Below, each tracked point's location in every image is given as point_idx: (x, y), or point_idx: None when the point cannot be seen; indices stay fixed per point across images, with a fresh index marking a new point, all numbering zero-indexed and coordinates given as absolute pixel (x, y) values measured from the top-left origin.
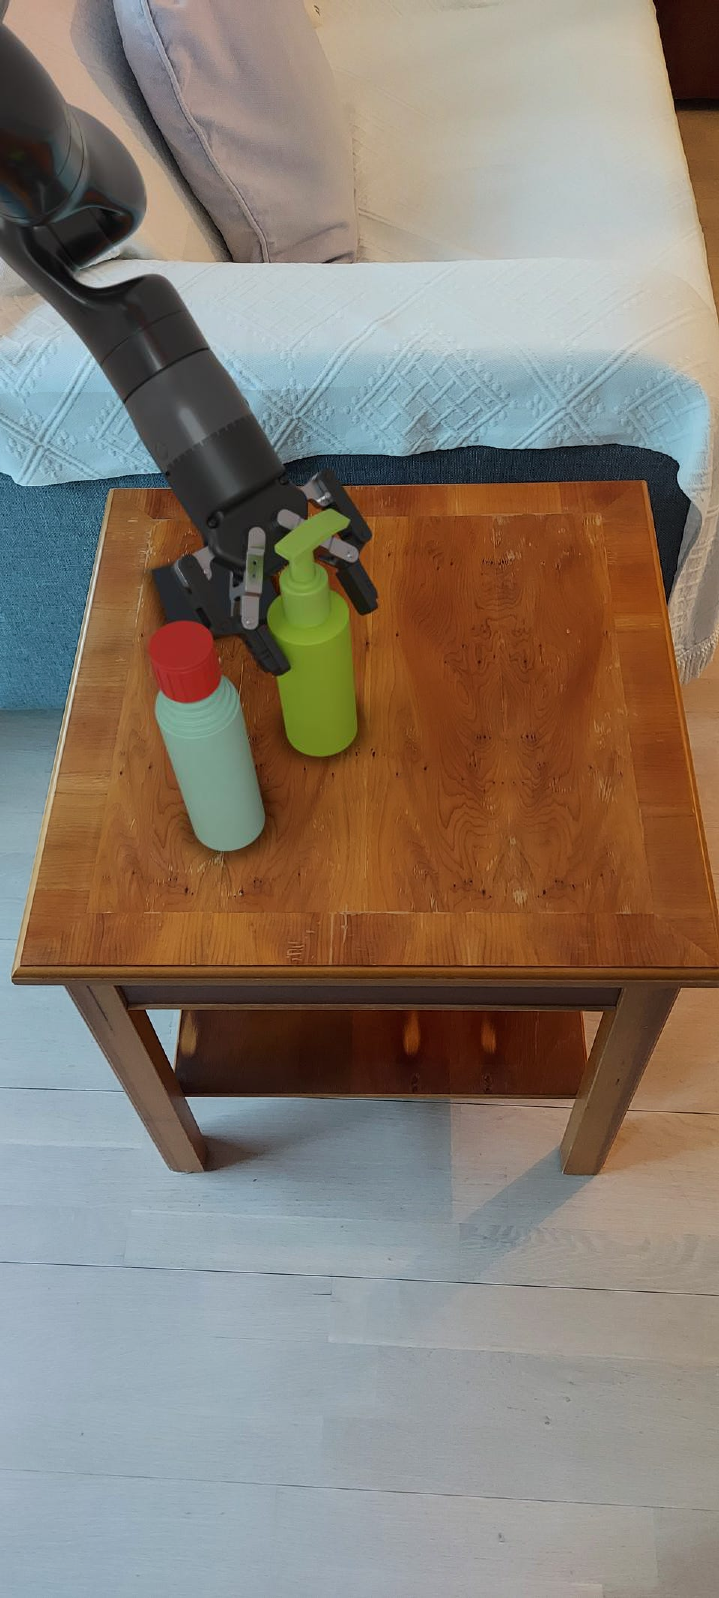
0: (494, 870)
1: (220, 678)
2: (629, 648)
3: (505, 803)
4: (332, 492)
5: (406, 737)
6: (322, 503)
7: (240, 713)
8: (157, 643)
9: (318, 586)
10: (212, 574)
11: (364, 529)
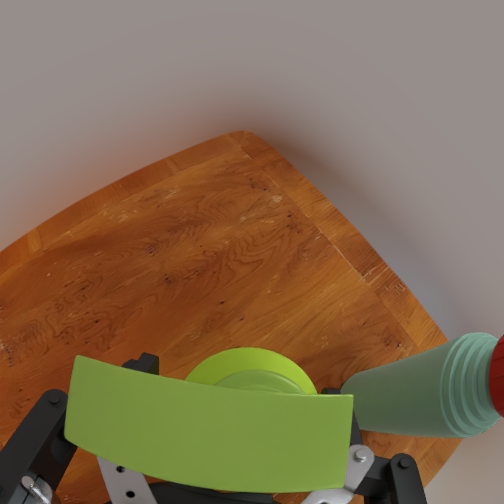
0: (271, 217)
1: (500, 340)
2: (53, 232)
3: (217, 236)
4: (17, 473)
5: (201, 334)
6: (47, 490)
7: (445, 347)
8: None
9: (262, 376)
10: None
11: (48, 402)
